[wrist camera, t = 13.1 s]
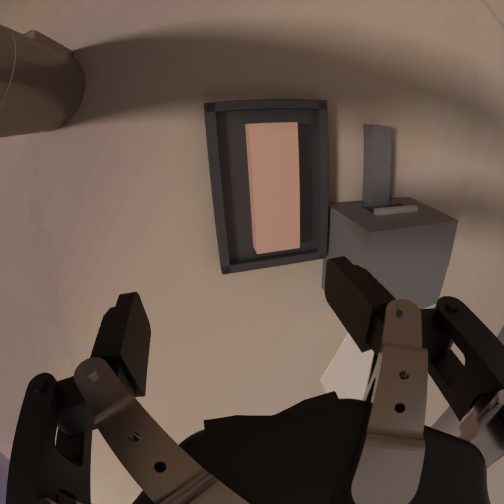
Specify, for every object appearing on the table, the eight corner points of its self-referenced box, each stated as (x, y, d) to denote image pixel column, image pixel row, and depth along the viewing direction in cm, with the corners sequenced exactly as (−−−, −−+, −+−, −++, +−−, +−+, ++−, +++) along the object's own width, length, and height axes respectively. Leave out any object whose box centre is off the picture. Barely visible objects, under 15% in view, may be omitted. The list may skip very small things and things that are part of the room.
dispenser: (324, 122, 29) (374, 123, 20) (411, 129, 31) (465, 138, 22) (321, 286, 38) (355, 330, 30) (398, 269, 41) (437, 302, 32)
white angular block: (393, 298, 43) (428, 333, 34) (374, 391, 56) (393, 421, 47) (318, 325, 42) (347, 371, 33) (319, 413, 55) (334, 448, 46)
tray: (203, 104, 26) (204, 103, 24) (319, 101, 28) (326, 100, 26) (220, 267, 34) (222, 274, 32) (320, 252, 36) (326, 257, 34)
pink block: (245, 124, 27) (248, 123, 25) (291, 122, 28) (297, 122, 26) (253, 246, 33) (257, 254, 31) (293, 241, 34) (299, 247, 32)
